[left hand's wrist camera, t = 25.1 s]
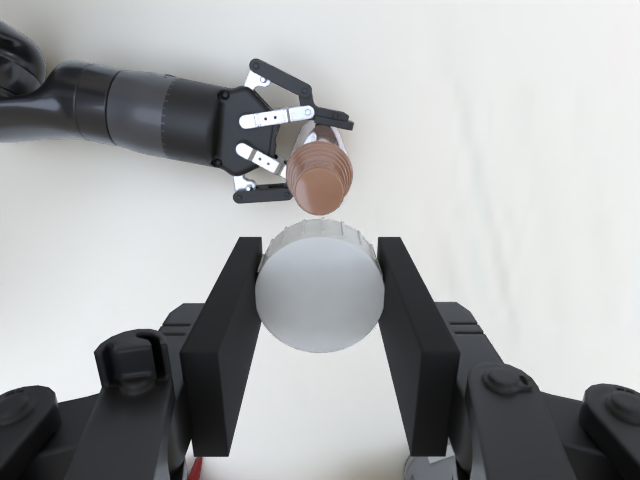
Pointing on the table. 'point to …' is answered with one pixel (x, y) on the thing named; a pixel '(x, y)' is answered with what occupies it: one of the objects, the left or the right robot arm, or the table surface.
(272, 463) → the table surface
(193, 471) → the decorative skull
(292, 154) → the bottle
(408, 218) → the table surface
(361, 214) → the table surface
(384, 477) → the table surface
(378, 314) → the cap
